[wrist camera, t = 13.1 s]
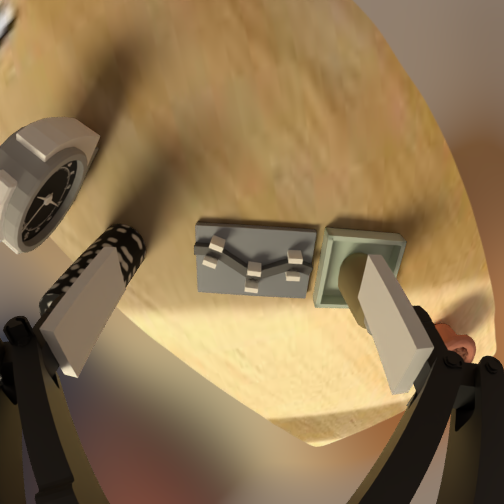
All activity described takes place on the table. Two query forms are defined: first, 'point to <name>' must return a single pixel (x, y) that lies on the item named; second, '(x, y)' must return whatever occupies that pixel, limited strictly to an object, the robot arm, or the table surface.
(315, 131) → the table surface
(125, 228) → the white-spotted black cylinder
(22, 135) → the alarm clock
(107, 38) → the table surface
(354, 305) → the squeeze bottle
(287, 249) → the grey peg board
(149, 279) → the table surface
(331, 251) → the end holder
